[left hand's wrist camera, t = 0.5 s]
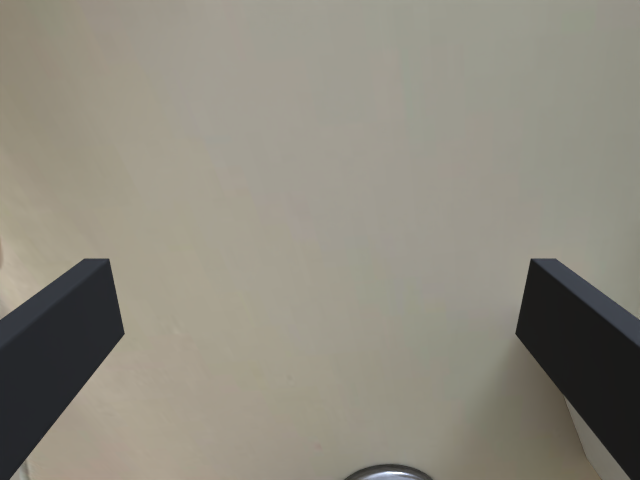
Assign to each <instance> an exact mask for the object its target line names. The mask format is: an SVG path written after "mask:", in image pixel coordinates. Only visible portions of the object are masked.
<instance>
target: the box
mask: <svg viewBox="0 0 640 480" xmlns="http://www.w3.org/2000/svg"><path fill="white" fill-rule="evenodd" d="M563 396H564V395H563ZM564 399H565V401H566V404H567V407H568V409H569V412H570V415H571V417H572V420H573V423H574V425H575V428H576V431H577V433H578V436H579V439H580V441H581V444H582V447H583V449H584V452H585V455H586V457H587V459H588V461H589V462H590V464H591V465H592V466H593V468H594V469H595V471H596V472H597V473H598V475H599V476H600V478H601V479H602V480H630V478H629V477H628V476H627V474H626V473H625V472H624V471H623V469H622V468H621V467H620V466H619V464H618V463H617V462H616V461H615V459H614V458H613V457H612V456H611V454H610V453H609V452H608V450H607V449H606V448H605V447H604V445H603V444H602V443H601V442H600V440H599V439H598V438H597V437H596V435H595V434H594V433H593V431H592V430H591V429H590V428H589V426H588V425H587V424H586V423H585V421H584V420H583V419H582V418H581V416H580V415H579V414H578V413H577V411H576V410H575V409H574V407H573V406H572V405H571V404H570V402H569V401H568V400H567V399H566V397H565V396H564Z"/></svg>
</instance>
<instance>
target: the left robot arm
mask: <svg viewBox="0 0 640 480" xmlns="http://www.w3.org/2000/svg"><path fill="white" fill-rule="evenodd" d="M124 334H125V333H124V328H123V324H122V319H121V314H120V309H119V304H118V299H117V294H116V290H115V285H114V280H113V275H112V270H111V265H110V261H109V259H83V260H82V261H81V262H79V263H78V264H76V265H75V266H74V267H72V268H71V269H70V270H68V271H67V272H66V273H64V274H63V275H61V276H60V277H59V278H57V279H56V280H55V281H53V282H52V283H50V284H49V285H48V286H46V287H45V288H44V289H42V290H41V291H39V292H38V293H37V294H35V295H34V296H33V297H31V298H30V299H29V300H27V301H26V302H24V303H23V304H22V305H20V306H19V307H18V308H16V309H15V310H13V311H12V312H11V313H9V314H8V315H7V316H5V317H4V318H2V319H1V320H0V480H10V478H11V477H12V476H13V474H14V473H15V472H16V471H17V469H18V468H19V467H20V466H21V464H22V463H23V462H24V461H25V459H26V458H27V457H28V456H29V454H30V453H31V452H32V450H33V449H34V448H35V447H36V445H37V444H38V443H39V442H40V440H41V439H42V438H43V437H44V435H45V434H46V433H47V431H48V430H49V429H50V428H51V426H52V425H53V424H54V423H55V421H56V420H57V419H58V418H59V416H60V415H61V414H62V413H63V411H64V410H65V409H66V407H67V406H68V405H69V404H70V402H71V401H72V400H73V399H74V397H75V396H76V395H77V394H78V392H79V391H80V390H81V388H82V387H83V386H84V385H85V383H86V382H87V381H88V380H89V378H90V377H91V376H92V375H93V373H94V372H95V371H96V369H97V368H98V367H99V366H100V364H101V363H102V362H103V361H104V359H105V358H106V357H107V356H108V354H109V353H110V352H111V351H112V349H113V348H114V347H115V345H116V344H117V343H118V342H119V340H120V339H121V338H122V337H123V335H124ZM515 334H516V335H517V337H518V338H519V339H520V340H521V342H522V343H523V344H524V345H525V347H526V348H527V349H528V351H529V352H530V353H531V354H532V356H533V357H534V358H535V359H536V361H537V362H538V363H539V364H540V366H541V367H542V368H543V369H544V371H545V372H546V373H547V375H548V376H549V377H550V378H551V380H552V381H553V382H554V383H555V385H556V386H557V387H558V388H559V390H560V391H561V392H562V394H563V395H564V396H565V397H566V399H567V400H568V401H569V402H570V404H571V405H572V406H573V407H574V409H575V410H576V411H577V413H578V414H579V415H580V416H581V418H582V419H583V420H584V421H585V423H586V424H587V425H588V426H589V428H590V429H591V430H592V431H593V433H594V434H595V435H596V437H597V438H598V439H599V440H600V442H601V443H602V444H603V445H604V447H605V448H606V449H607V450H608V452H609V453H610V454H611V456H612V457H613V458H614V459H615V461H616V462H617V463H618V464H619V466H620V467H621V468H622V469H623V471H624V472H625V473H626V474H627V476H628V477H629V478H630V480H640V320H639V319H638V318H636V317H635V316H633V315H632V314H631V313H629V312H628V311H627V310H625V309H624V308H622V307H621V306H620V305H618V304H617V303H616V302H614V301H613V300H611V299H610V298H609V297H607V296H606V295H605V294H603V293H602V292H601V291H599V290H598V289H596V288H595V287H594V286H592V285H591V284H590V283H588V282H587V281H585V280H584V279H583V278H581V277H580V276H579V275H577V274H576V273H574V272H573V271H572V270H570V269H569V268H568V267H566V266H565V265H564V264H562V263H561V262H559V261H558V260H557V259H531V261H530V265H529V270H528V275H527V280H526V285H525V290H524V294H523V299H522V304H521V309H520V314H519V319H518V324H517V328H516V333H515ZM345 480H432V479H431V478H430V477H429V476H428V475H426V474H425V473H423V472H421V471H419V470H417V469H414V468H411V467H407V466H401V465H378V466H373V467H369V468H365V469H363V470H360V471H358V472H356V473H354V474H352V475H350V476H349V477H347V478H346V479H345Z"/></svg>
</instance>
